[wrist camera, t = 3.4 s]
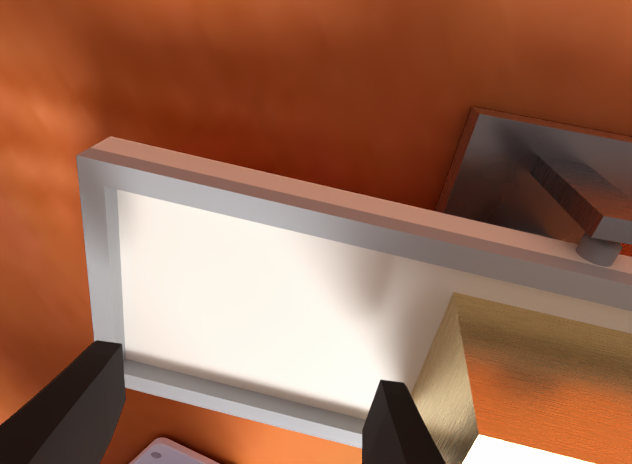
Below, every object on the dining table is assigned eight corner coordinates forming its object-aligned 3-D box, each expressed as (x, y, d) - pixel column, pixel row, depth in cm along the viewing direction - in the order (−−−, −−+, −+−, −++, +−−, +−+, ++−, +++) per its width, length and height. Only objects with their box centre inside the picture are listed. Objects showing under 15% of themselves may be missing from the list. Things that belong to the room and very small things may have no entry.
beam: (122, 357, 17) (99, 390, 16) (109, 118, 13) (74, 136, 11) (845, 541, 16) (887, 593, 15) (1133, 354, 11) (1233, 406, 10)
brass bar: (404, 410, 15) (406, 561, 11) (453, 291, 12) (478, 435, 9) (636, 467, 15) (722, 645, 11) (735, 357, 12) (895, 538, 8)
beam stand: (370, 390, 20) (381, 493, 17) (472, 106, 14) (529, 163, 10) (498, 408, 21) (538, 512, 17) (654, 140, 14) (779, 209, 10)
